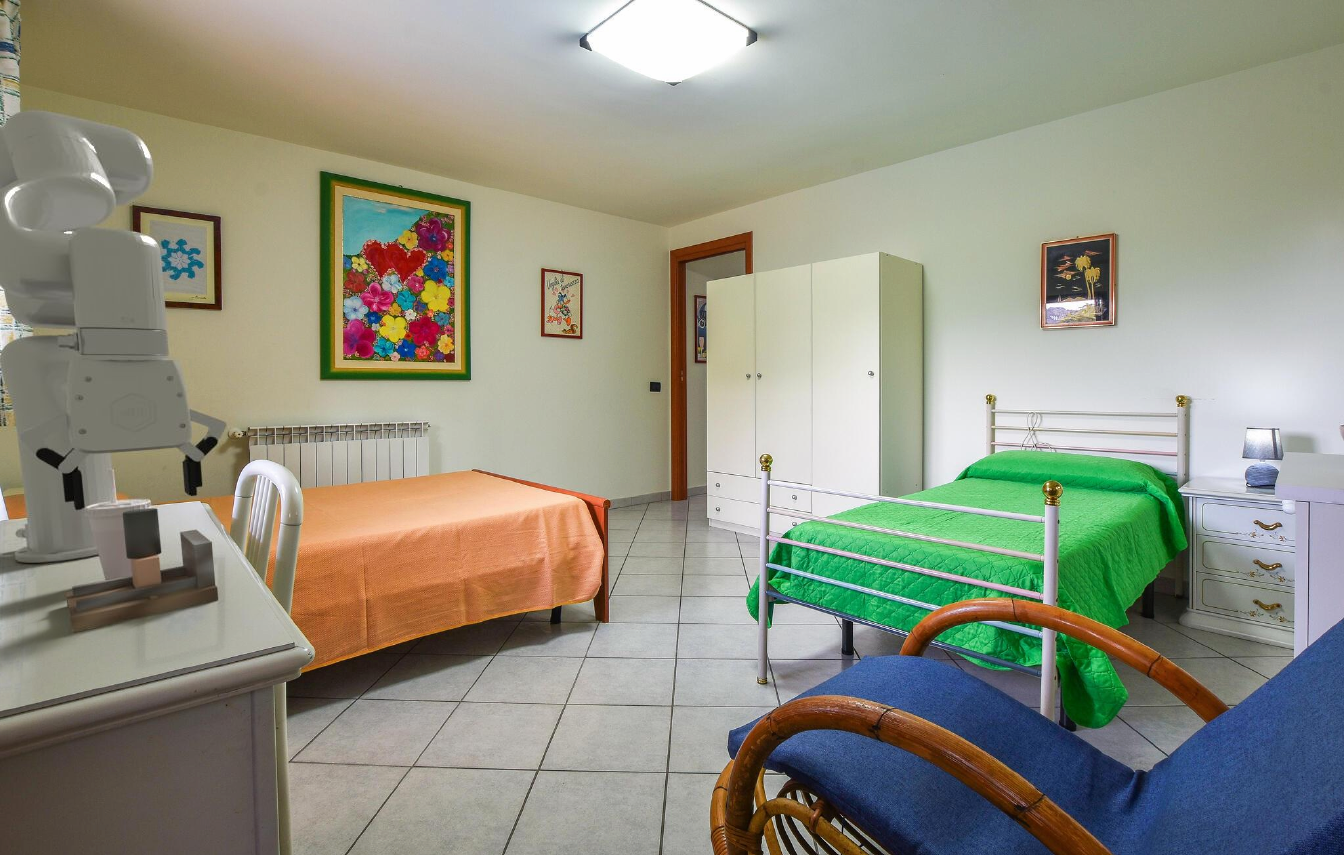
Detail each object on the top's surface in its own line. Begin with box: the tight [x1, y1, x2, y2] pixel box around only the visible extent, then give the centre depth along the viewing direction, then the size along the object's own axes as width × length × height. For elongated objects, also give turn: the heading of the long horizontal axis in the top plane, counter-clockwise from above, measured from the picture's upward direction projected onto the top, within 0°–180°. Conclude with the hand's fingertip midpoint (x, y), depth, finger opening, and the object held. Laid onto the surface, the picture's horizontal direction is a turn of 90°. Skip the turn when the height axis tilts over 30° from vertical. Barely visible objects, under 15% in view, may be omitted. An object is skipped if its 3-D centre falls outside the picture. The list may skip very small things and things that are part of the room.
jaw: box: [122, 507, 162, 588], centre depth 71 cm, size 3×5×9 cm, turn 46°
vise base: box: [65, 529, 219, 633], centre depth 71 cm, size 12×11×6 cm
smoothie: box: [84, 468, 153, 581], centre depth 79 cm, size 6×6×14 cm
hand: (137, 500), depth 71 cm, fingers open, 9 cm apart
